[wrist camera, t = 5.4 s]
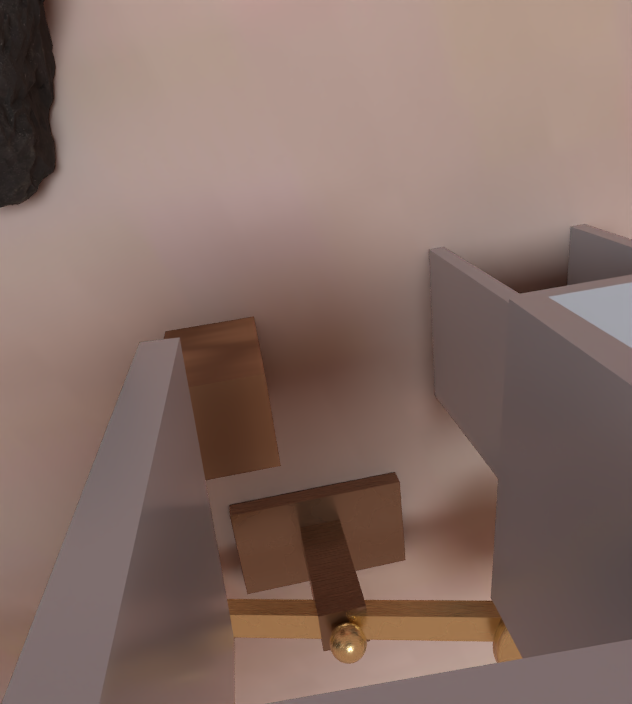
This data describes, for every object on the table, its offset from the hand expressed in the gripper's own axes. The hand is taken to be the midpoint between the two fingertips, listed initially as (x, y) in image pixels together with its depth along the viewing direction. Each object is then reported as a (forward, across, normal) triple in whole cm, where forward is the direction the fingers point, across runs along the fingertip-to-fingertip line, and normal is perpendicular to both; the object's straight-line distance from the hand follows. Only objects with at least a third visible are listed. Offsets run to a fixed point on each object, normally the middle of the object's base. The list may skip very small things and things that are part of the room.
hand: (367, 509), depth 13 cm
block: (+18, -4, -4) cm, 19 cm away
